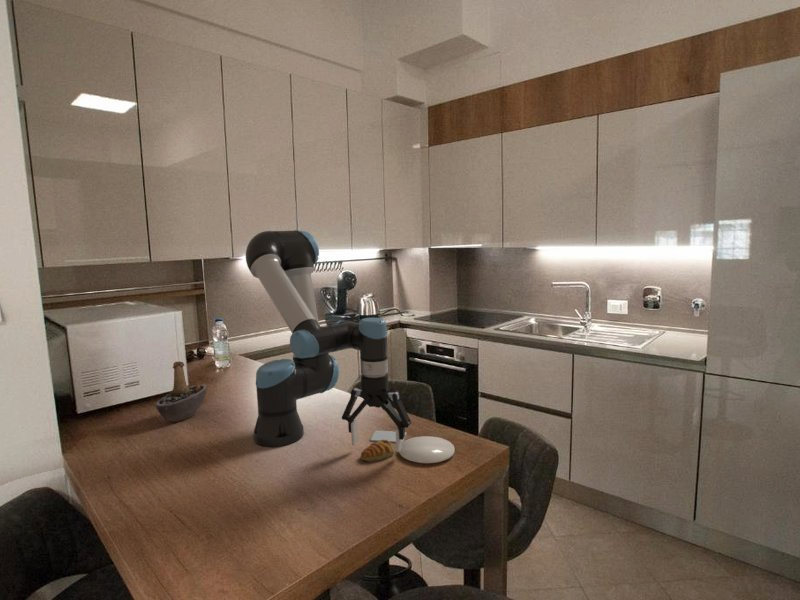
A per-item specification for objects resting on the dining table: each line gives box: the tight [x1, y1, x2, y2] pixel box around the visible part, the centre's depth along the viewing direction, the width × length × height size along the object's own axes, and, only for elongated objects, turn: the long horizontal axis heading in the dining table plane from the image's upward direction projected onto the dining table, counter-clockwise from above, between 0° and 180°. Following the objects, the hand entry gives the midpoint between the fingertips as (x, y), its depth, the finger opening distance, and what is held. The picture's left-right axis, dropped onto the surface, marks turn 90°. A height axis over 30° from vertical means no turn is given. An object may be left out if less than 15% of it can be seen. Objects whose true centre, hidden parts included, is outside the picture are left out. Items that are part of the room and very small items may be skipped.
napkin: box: [370, 430, 408, 444], centre depth 147 cm, size 10×7×1 cm
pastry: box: [360, 440, 395, 463], centre depth 134 cm, size 9×7×4 cm
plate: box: [398, 435, 455, 464], centre depth 136 cm, size 16×16×1 cm
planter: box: [155, 360, 207, 423], centre depth 164 cm, size 15×17×20 cm
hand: (376, 446), depth 135 cm, fingers open, 13 cm apart
